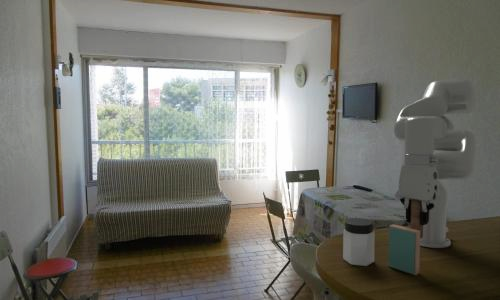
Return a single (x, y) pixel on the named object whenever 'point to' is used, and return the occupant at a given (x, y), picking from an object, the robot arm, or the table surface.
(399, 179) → the robot arm
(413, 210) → the stick
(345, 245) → the jar
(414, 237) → the tile
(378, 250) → the table surface
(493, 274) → the table surface
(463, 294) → the table surface
